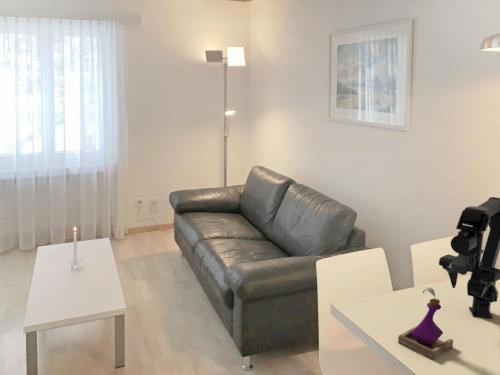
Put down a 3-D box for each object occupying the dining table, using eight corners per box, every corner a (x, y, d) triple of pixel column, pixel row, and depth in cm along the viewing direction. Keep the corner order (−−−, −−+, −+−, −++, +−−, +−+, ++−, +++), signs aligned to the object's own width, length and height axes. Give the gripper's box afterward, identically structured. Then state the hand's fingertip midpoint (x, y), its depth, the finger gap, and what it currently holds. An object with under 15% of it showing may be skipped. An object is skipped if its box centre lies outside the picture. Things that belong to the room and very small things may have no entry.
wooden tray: (418, 331, 160) (418, 324, 160) (452, 347, 151) (453, 340, 150) (398, 343, 154) (398, 335, 153) (432, 359, 144) (433, 352, 144)
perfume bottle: (442, 341, 153) (447, 288, 149) (433, 351, 148) (437, 296, 144) (419, 333, 158) (423, 281, 154) (409, 342, 153) (413, 289, 149)
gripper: (431, 243, 159) (427, 288, 162) (488, 259, 144) (482, 308, 147) (450, 237, 165) (445, 281, 168) (506, 252, 151) (500, 299, 154)
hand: (467, 292), depth 159 cm, fingers open, 9 cm apart
